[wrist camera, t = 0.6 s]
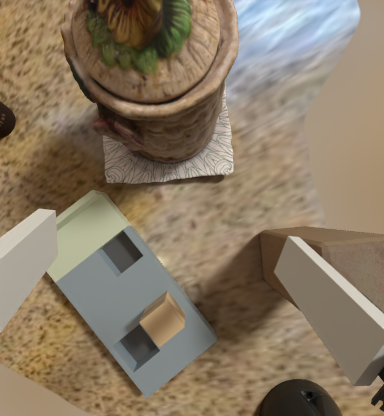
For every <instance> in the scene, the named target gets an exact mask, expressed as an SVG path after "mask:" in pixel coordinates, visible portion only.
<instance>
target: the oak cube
mask: <svg viewBox="0 0 384 416" xmlns="http://www.w3.org/2000/svg"><path fill="white" fill-rule="evenodd" d="M139 323H140V324H141V325H142V326H143V328H144V329H145V330H146V331H147V333H148V334H149V335H150V336H151V338H152V339H153V340H154V342H155V343H156V344H157V345H158V347H159V348H160V347H161V346H162V345H163V344H165V343H166V342H167V341H168V340H169V339H171V338H172V337H173V336H174V335H176V334H177V333H178V332H179V331H180V330H182V329H183V328H184V327H185V312H184V311H183V310H182V308H181V307H180V306H179V305H178V303H177V302H176V301H175V299H174V298H173V297H172V296H171V294H170V293H169V292H168V291H166V292H165V293H164V294H163V295H161V296H160V297H159V298H158V299H156V300H155V301H154V302H153V303H152V304H150V305H149V306H148V307H147V308H145V310H144V313H143V315H142V317H141V320H140V322H139Z"/></svg>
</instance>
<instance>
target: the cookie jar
mask: <svg viewBox="0 0 384 416" xmlns="http://www.w3.org/2000/svg"><path fill="white" fill-rule="evenodd" d="M61 34H62V38H63V41H64V53H65V57H66V60H67V62H68V63H69V65H70V69H71V71H72V73H73V77H74V78H75V80H76V81H77V83H78V84H79V87H80V89H81V90H82V92H83V93H84V95H85V96H86V97H87V98H88V99H89V100H90V101H92V102H93V103H97V106H98V113H99V117H100V119H97V120H96V121H94V122H93V124H92V127H93V129H94V130H95V131H96V132H97V133H99V134H101V135H103V150H104V154H105V176H106V181H107V183H128V184H133V183H134V184H140V183H144V182H145V183H151V182H166V181H170V180H173V179H185V178H192V177H197V176H211V175H214V176H215V175H229V174H230V173H232V172H233V165H234V164H233V159H232V158H233V148H232V146H231V138H232V135H231V127H230V122H229V118H228V110H227V106H226V80H225V79H226V77H227V75H228V73H229V71H230V69H231V67H232V65H233V63H234V61H235V59H236V57H237V54H238V44H239V40H238V36H239V32H238V17H237V12H236V9H235V6H234V4H233V2H232V0H71V1H70V2H69V9H68V10H67V11H66V12H65V15H64V23H63V24H62V26H61Z"/></svg>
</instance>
